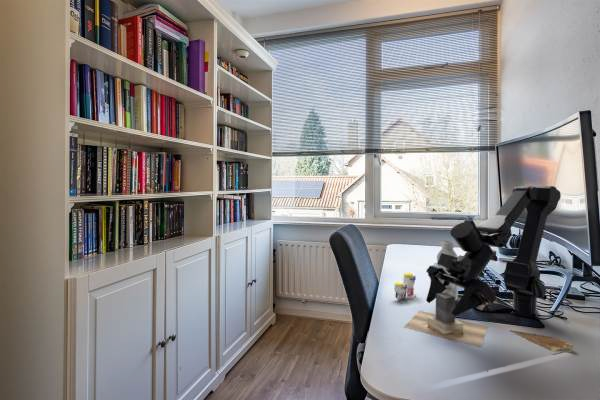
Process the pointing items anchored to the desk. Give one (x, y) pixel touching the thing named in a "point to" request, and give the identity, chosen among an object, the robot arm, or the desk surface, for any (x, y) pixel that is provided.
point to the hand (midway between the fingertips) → (439, 307)
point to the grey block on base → (445, 316)
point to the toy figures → (405, 287)
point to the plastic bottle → (446, 249)
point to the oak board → (470, 334)
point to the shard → (546, 342)
